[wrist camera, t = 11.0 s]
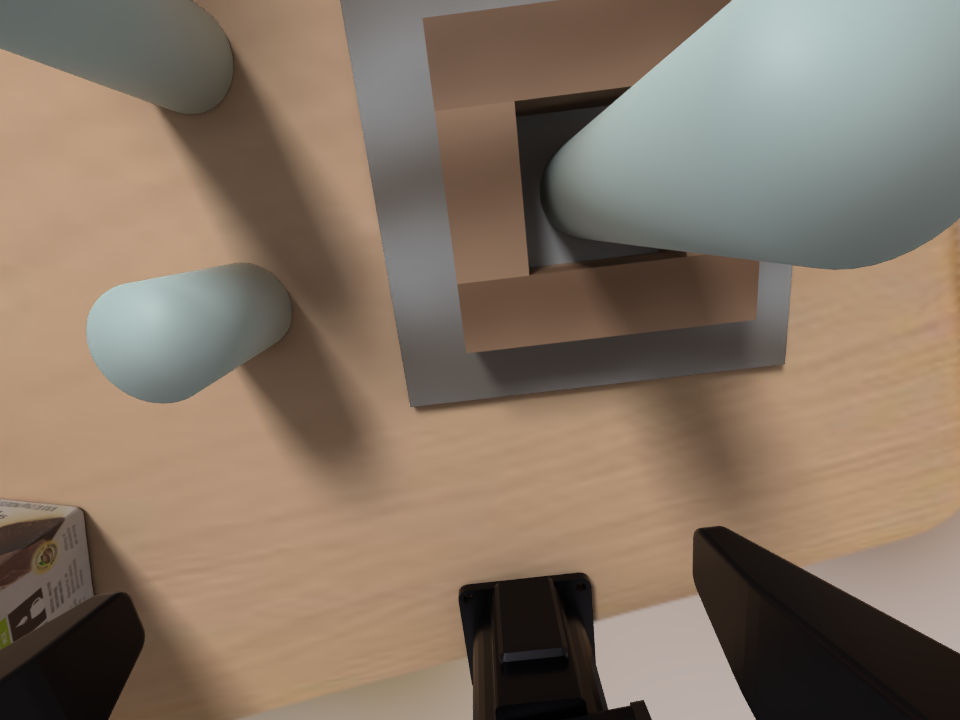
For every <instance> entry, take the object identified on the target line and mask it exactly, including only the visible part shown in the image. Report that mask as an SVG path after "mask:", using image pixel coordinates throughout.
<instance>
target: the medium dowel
mask: <svg viewBox="0 0 960 720" xmlns="http://www.w3.org/2000/svg"><path fill="white" fill-rule="evenodd" d="M0 48H1V49H3V50H6V51H9V52H12V53H14V54H17V55H20V56H23V57H26V58H28V59H31V60H34V61H37V62H39V63H42V64H45V65H48V66H50V67H53V68H56V69H59V70H61V71H64V72H67V73H70V74H73V75H75V76H78V77H81V78H84V79H86V80H89V81H92V82H95V83H97V84H100V85H103V86H106V87H108V88H111V89H114V90H117V91H120V92H122V93H125V94H128V95H131V96H133V97H136V98H139V99H142V100H144V101H147V102H150V103H153V104H155V105H158V106H161V107H164V108H167V109H169V110H172V111H175V112H178V113H182V114H199V113H204V112H206V111H209V110H211V109H212V108H214V107H215V106H217V105H218V104H219V103H220V102H221V101H222V100H223V99H224V97H225V96H226V94H227V92H228V90H229V88H230V85H231V82H232V77H233V56H232V51H231V48H230V44H229V42H228V39H227V37H226V35H225V33H224V31H223V30H222V28H221V27H220V25H219V24H218V23H217V21H216V20H215V19H214V18H213V17H212V16H211V15H210V14H209V13H208V12H207V11H205V10H204V9H203V8H202V7H200V6H199V5H198V4H196V3H195V2H194V1H193V0H0Z"/></svg>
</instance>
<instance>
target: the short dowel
mask: <svg viewBox="0 0 960 720" xmlns="http://www.w3.org/2000/svg"><path fill="white" fill-rule="evenodd" d="M291 320H292V305H291V300H290V297H289V295H288V293H287V290H286V289H285V287H284V286H283V284H282V283H281V282H280V281H279V279H278V278H277V277H276V276H274V275H273V274H272V273H271V272H269V271H267V270H266V269H264V268H262V267H260V266H257V265H254V264H249V263H234V264H229V265H223V266H218V267H212V268H207V269H202V270H196V271H191V272H185V273H180V274H175V275H169V276H164V277H158V278H153V279H148V280H142V281H137V282H131V283H126V284H122V285H119V286H116V287H114V288H112V289H110V290H108V291H107V292H105V293H104V294H103V295H101V296H100V298H99V299H98V300H97V301H96V302H95V304H94V305H93V307H92V309H91V311H90V313H89V316H88V320H87V327H86V337H87V343H88V347H89V350H90V353H91V355H92V358H93V360H94V362H95V363H96V365H97V367H98V368H99V369H100V371H101V372H102V373H103V375H104V376H105V377H106V378H107V379H108V380H109V381H110V382H111V383H112V384H114V385H115V386H116V387H117V388H119V389H120V390H122V391H123V392H125V393H127V394H129V395H130V396H133V397H135V398H137V399H140V400H144V401H147V402H153V403H173V402H179V401H182V400H185V399H187V398H189V397H191V396H193V395H194V394H196V393H198V392H199V391H201V390H202V389H204V388H206V387H207V386H209V385H210V384H212V383H214V382H215V381H217V380H218V379H220V378H222V377H223V376H225V375H226V374H228V373H229V372H231V371H233V370H234V369H236V368H237V367H239V366H241V365H242V364H244V363H245V362H247V361H249V360H250V359H252V358H253V357H255V356H256V355H258V354H260V353H261V352H263V351H264V350H266V349H268V348H269V347H271V346H272V345H274V344H275V343H277V342H278V341H280V340H281V339H282V338H283V337H284V335H285V334H286V332H287V331H288V329H289V326H290V324H291Z"/></svg>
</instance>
